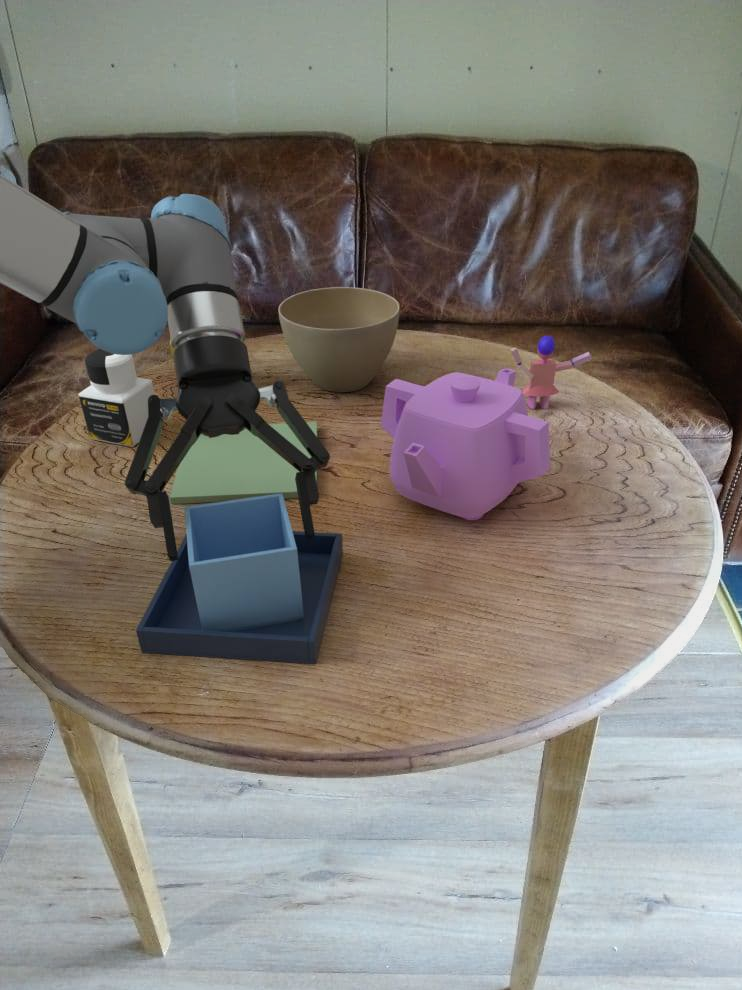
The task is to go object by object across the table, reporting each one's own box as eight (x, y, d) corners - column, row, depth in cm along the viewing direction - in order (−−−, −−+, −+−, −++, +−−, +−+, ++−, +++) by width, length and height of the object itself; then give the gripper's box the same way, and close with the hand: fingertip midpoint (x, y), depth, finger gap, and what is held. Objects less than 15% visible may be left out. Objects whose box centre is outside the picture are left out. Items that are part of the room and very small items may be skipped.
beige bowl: (411, 400, 120) (412, 323, 113) (292, 413, 117) (285, 334, 110) (386, 353, 135) (385, 281, 127) (279, 363, 131) (272, 290, 124)
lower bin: (141, 652, 77) (135, 630, 76) (194, 546, 91) (190, 525, 89) (316, 664, 76) (314, 641, 74) (343, 554, 90) (341, 533, 88)
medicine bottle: (89, 440, 111) (67, 359, 104) (119, 417, 116) (100, 338, 109) (133, 448, 109) (114, 366, 102) (162, 424, 114) (145, 345, 107)
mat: (170, 504, 98) (169, 497, 97) (189, 433, 112) (188, 426, 112) (317, 497, 99) (316, 490, 99) (317, 427, 114) (317, 421, 113)
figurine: (587, 407, 119) (597, 336, 112) (509, 414, 117) (515, 342, 110) (579, 397, 121) (589, 327, 115) (503, 403, 120) (509, 332, 113)
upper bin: (198, 575, 86) (184, 506, 81) (289, 560, 88) (282, 492, 83) (203, 637, 78) (188, 565, 73) (304, 619, 80) (297, 548, 75)
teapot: (405, 544, 91) (406, 428, 82) (369, 464, 105) (367, 358, 96) (560, 520, 95) (576, 406, 86) (505, 446, 110) (515, 342, 101)
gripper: (325, 348, 88) (359, 534, 86) (90, 374, 83) (119, 572, 81) (331, 319, 81) (369, 521, 78) (74, 345, 76) (106, 563, 73)
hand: (243, 548), depth 79 cm, fingers open, 13 cm apart
